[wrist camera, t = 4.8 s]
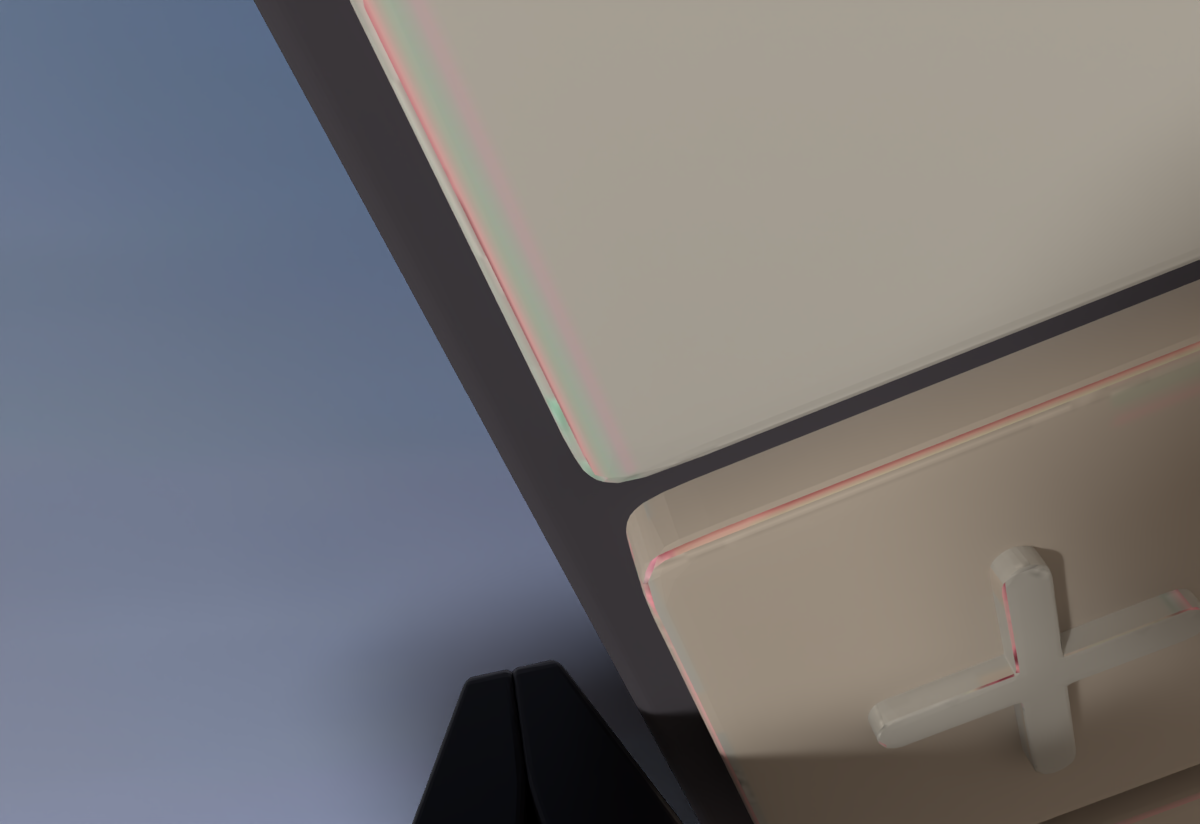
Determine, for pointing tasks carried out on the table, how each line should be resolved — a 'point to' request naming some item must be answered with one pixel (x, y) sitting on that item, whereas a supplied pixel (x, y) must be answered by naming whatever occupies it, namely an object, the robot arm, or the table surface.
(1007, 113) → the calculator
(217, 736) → the table surface
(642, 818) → the robot arm
